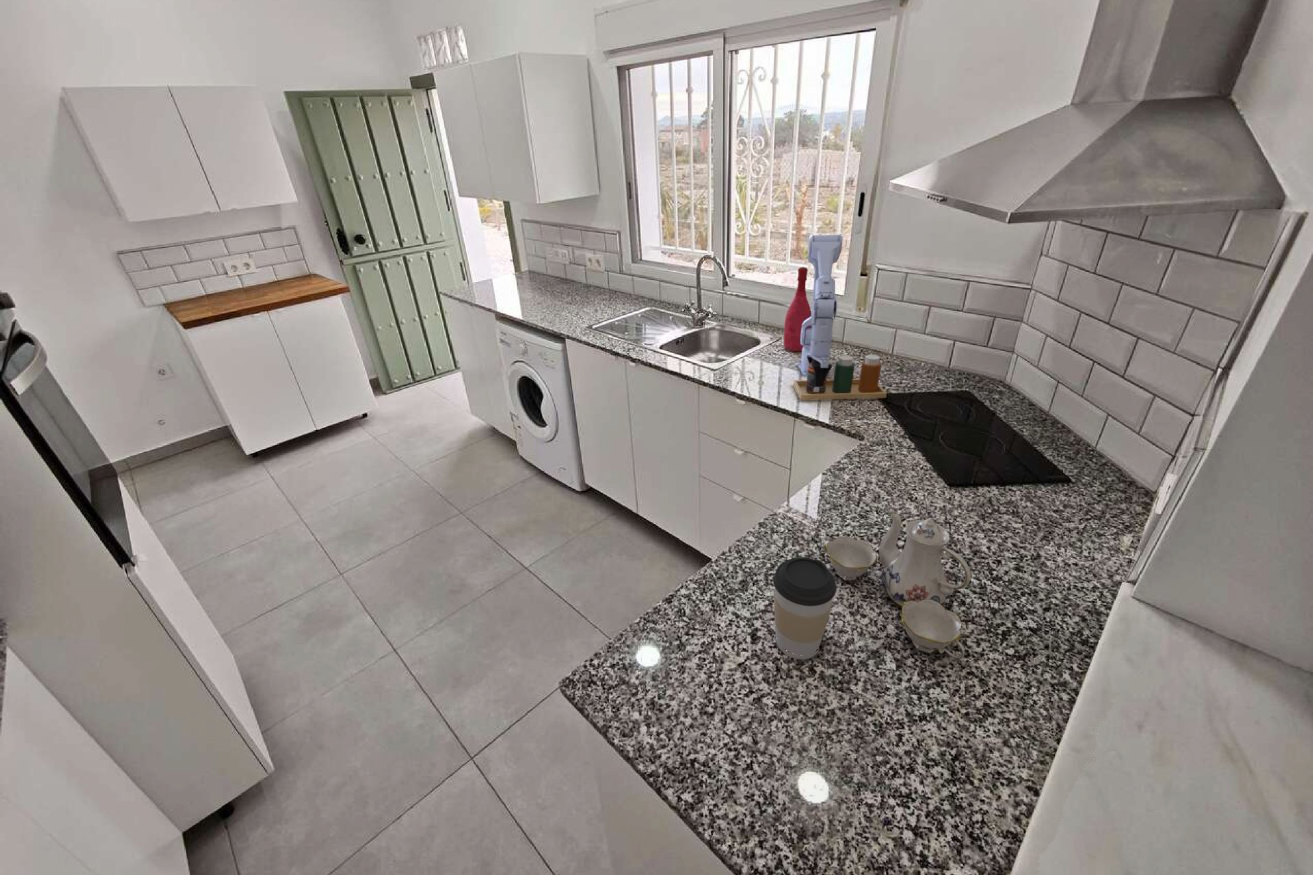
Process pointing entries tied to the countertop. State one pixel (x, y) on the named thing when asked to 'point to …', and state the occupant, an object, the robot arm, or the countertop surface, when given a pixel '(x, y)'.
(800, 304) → the wine bottle
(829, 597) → the coffee cup
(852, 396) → the tray
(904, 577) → the chinaware
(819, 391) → the supplement bottle
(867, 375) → the amber bottle
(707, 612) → the countertop surface
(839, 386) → the dark green bottle
